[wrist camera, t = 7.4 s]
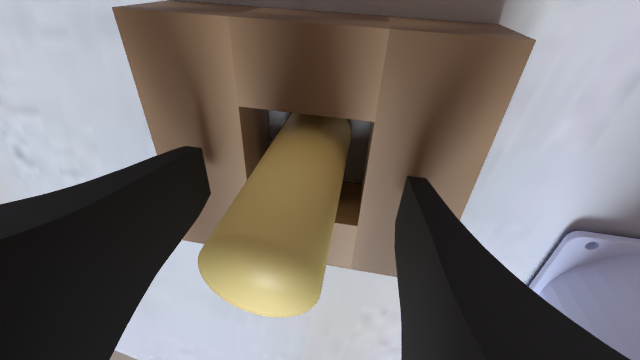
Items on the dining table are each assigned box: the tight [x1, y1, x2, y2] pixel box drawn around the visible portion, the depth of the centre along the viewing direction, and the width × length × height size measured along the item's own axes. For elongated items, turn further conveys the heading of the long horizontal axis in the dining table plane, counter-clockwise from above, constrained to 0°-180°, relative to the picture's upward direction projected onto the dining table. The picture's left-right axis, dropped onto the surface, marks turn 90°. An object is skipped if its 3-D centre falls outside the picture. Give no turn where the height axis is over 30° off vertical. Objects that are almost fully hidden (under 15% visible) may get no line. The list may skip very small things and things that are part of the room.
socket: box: [112, 0, 536, 277], centre depth 12 cm, size 12×10×3 cm
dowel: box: [198, 113, 351, 317], centre depth 10 cm, size 3×3×8 cm
